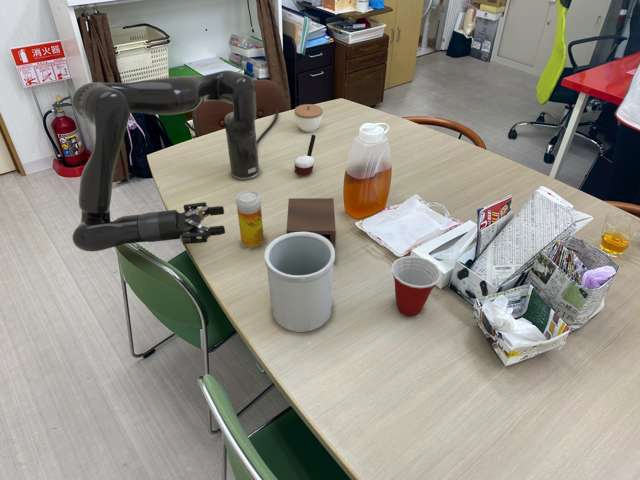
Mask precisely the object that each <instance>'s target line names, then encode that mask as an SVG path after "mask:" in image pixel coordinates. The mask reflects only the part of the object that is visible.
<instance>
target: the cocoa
mask: <svg viewBox="0 0 640 480" xmlns="http://www.w3.org/2000/svg"><path fill="white" fill-rule="evenodd" d="M316 137H317V135H316V134H311V137H310V141H309V145H308V150H307V153H306V155H300V156H298V157H296V158H294V174H296V175H297V176H301V177H306V176H309V175H310V174H312V173H313V170H314V164H315V158H314V157H313V156H312V153H313V149H314V145H315V141H316Z"/></svg>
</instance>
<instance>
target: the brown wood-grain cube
mask: <svg viewBox="0 0 640 480" xmlns="http://www.w3.org/2000/svg"><path fill="white" fill-rule="evenodd" d="M334 201H335V200H334V198H333V197H331V198H330V197H329V198H327V197H326V198H325V197H324V198H321V197H320V198H318V197H315V198H313V197H312V198H311V197H309V198H305V197H304V198H297V197H295V198H293V197H291V198H288V201H287V202H288V203H287V218H286V234H289V233H293V232H311V233H315V234H319V235H321V236H323V237H325V238H326V239H327V240H329V241H330V242H331V244H332V245H333V247H334V250H335V251H336V233H337V232H336V217H335V216H336V215H335V202H334Z"/></svg>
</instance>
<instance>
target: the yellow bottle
mask: <svg viewBox="0 0 640 480" xmlns="http://www.w3.org/2000/svg"><path fill="white" fill-rule="evenodd" d="M235 202H236V204H235V205H236V210H237V211H236V212H237V217H238V225H239V232H240V233H239V234H240V240H241V244H242V245H244V247H246V248H249V249H253V248H254V249H256V248H258V247H260V246H261V245H262V244H263V243H264V240H265V237H264V236H265V235H264V227H263V214H262V204H261V198H260V196H259V194H258V192H256V191H254V190H244V191H241V192H240V193H238V194H237V197H236V200H235Z"/></svg>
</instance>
